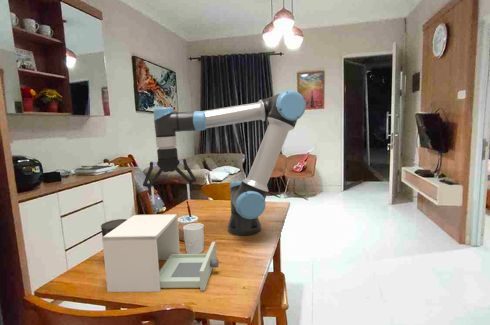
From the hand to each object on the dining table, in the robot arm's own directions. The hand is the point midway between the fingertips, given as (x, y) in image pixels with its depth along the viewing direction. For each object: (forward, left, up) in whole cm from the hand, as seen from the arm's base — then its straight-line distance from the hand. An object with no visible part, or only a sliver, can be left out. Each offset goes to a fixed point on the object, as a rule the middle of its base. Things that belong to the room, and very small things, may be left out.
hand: (171, 201), depth 121 cm
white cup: (-9, +3, -20) cm, 22 cm away
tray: (-11, +21, -19) cm, 30 cm away
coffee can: (+18, +10, -20) cm, 28 cm away
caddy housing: (+3, +21, -19) cm, 29 cm away
